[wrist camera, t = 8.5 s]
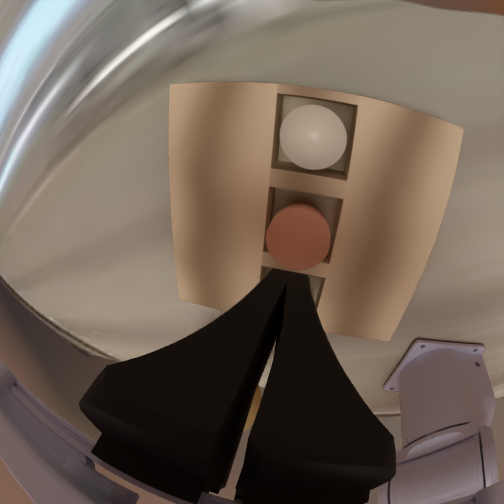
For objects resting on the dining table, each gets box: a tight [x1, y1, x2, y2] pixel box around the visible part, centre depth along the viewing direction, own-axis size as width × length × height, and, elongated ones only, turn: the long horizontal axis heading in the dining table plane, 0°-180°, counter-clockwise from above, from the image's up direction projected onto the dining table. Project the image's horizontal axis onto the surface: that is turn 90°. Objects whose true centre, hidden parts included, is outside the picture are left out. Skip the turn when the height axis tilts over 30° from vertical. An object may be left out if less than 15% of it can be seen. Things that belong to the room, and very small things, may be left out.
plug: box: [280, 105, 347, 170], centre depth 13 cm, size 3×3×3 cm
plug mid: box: [266, 201, 330, 270], centre depth 14 cm, size 3×3×3 cm
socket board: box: [169, 82, 463, 342], centre depth 16 cm, size 16×15×3 cm
